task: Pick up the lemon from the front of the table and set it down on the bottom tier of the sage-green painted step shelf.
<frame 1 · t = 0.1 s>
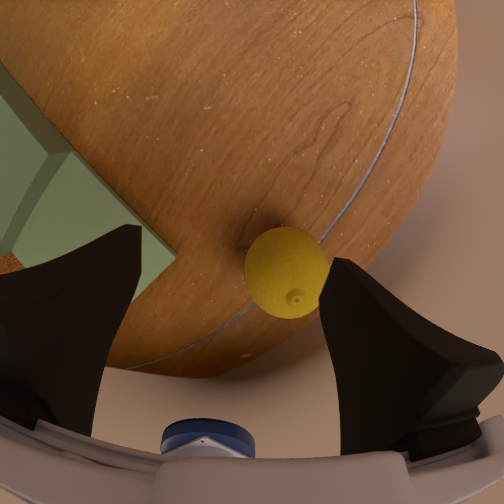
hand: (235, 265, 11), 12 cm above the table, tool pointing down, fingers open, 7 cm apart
lemon: (278, 247, 24), on the table
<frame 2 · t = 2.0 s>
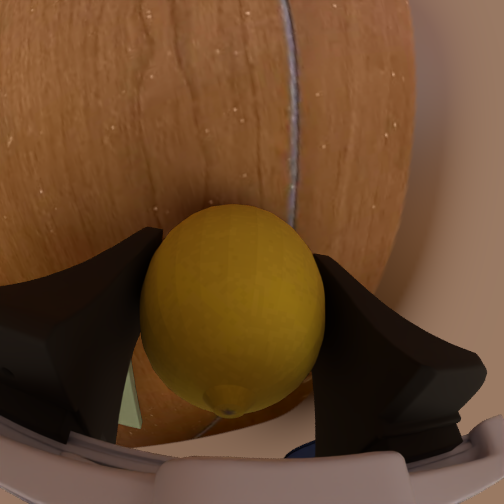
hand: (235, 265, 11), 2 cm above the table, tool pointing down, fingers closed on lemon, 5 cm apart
lemon: (235, 236, 13), on the table, touching gripper
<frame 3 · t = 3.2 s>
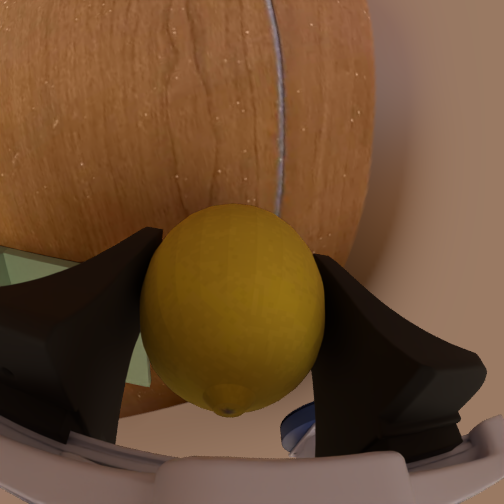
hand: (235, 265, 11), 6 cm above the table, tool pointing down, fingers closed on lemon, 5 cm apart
lemon: (235, 236, 13), point 4 cm above the table, touching gripper
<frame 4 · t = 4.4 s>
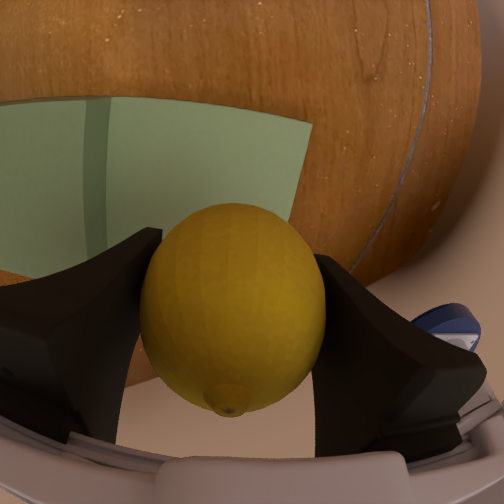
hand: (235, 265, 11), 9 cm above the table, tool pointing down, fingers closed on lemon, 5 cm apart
step shelf: (23, 177, 17), on the table
lemon: (235, 236, 13), point 7 cm above the table, touching gripper
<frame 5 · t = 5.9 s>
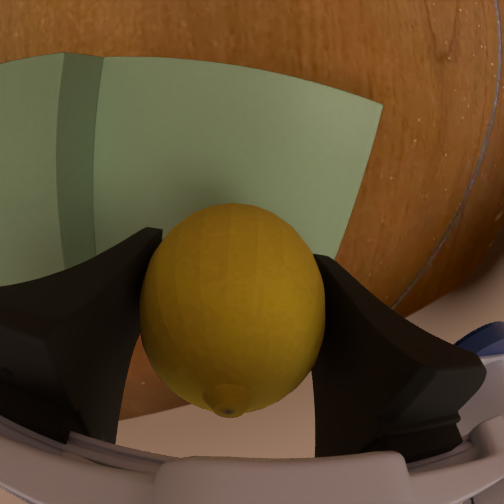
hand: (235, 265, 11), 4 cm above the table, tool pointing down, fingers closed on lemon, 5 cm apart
lemon: (235, 236, 13), point 2 cm above the table, touching gripper
when the fingers open (3 cm above the table, at t = 6.8 s): lemon stays where it is, resting on step shelf.
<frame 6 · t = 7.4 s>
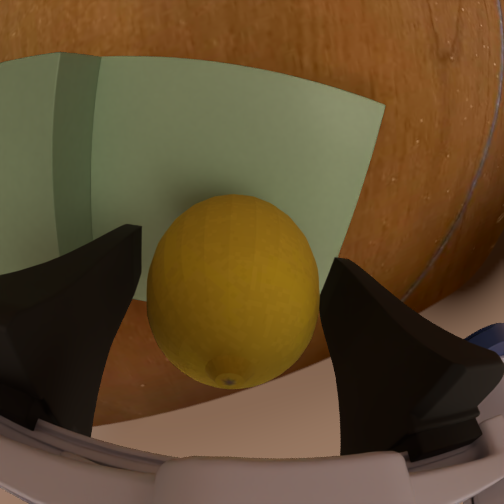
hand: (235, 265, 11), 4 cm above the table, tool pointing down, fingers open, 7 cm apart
lemon: (235, 227, 14), point 1 cm above the table, touching step shelf
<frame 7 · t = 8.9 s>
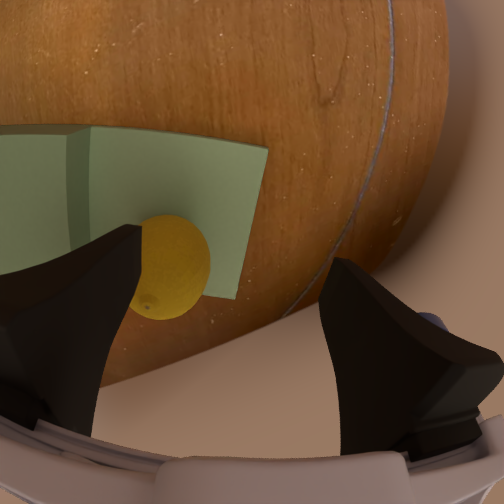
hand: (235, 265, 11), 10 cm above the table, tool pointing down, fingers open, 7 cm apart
step shelf: (17, 193, 19), on the table
lemon: (177, 232, 21), point 1 cm above the table, touching step shelf
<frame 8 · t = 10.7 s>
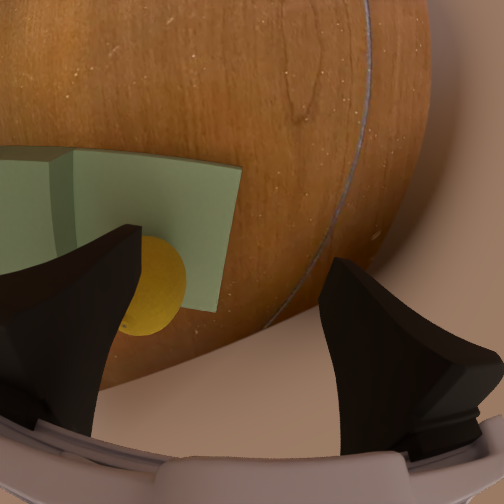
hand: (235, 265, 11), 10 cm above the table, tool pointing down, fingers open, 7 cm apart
step shelf: (10, 211, 20), on the table
lemon: (158, 249, 22), point 1 cm above the table, touching step shelf
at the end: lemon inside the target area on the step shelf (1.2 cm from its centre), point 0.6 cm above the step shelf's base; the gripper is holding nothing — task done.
